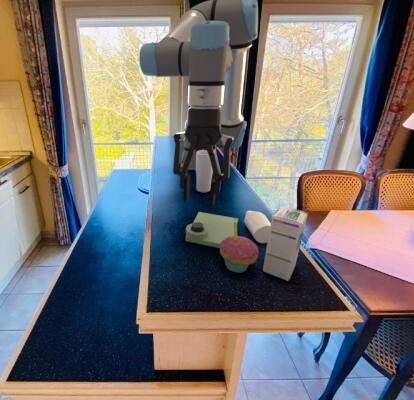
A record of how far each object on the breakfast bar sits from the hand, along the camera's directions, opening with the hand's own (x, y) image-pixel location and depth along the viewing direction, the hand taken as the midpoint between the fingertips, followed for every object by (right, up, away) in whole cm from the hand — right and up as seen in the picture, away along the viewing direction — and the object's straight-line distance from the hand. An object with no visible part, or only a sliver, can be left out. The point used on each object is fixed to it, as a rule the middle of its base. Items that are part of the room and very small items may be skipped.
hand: (198, 202), depth 67 cm
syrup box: (+17, -15, -7) cm, 24 cm away
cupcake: (+8, -15, -6) cm, 18 cm away
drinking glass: (+7, +4, +34) cm, 35 cm away
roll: (+17, -8, +8) cm, 21 cm away
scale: (+5, -8, +8) cm, 12 cm away
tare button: (0, -7, +4) cm, 8 cm away
